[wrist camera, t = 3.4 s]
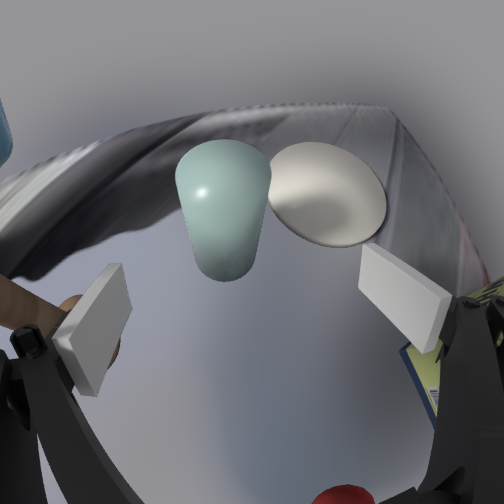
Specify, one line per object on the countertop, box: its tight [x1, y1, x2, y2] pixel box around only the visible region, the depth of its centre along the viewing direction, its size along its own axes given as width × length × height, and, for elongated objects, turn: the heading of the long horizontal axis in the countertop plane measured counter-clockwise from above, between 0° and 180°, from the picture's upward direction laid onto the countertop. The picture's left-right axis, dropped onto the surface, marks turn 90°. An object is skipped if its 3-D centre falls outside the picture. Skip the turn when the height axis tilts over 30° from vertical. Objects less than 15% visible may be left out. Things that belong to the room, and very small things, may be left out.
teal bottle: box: [175, 139, 272, 282], centre depth 22 cm, size 6×6×12 cm
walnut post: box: [0, 274, 120, 369], centre depth 13 cm, size 8×8×20 cm
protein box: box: [399, 276, 504, 430], centre depth 16 cm, size 10×16×16 cm
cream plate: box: [267, 142, 386, 248], centre depth 31 cm, size 15×15×1 cm
